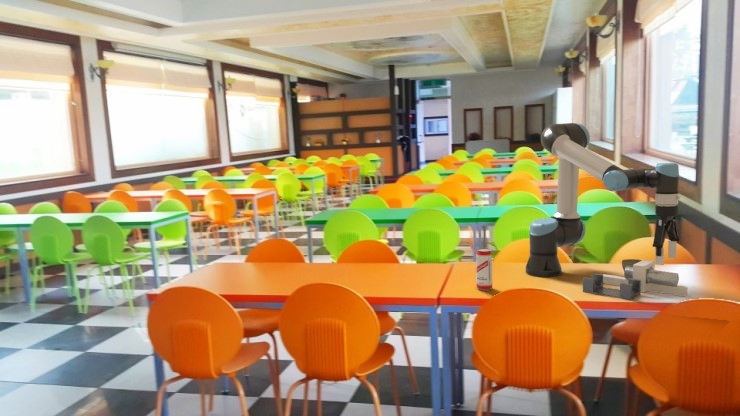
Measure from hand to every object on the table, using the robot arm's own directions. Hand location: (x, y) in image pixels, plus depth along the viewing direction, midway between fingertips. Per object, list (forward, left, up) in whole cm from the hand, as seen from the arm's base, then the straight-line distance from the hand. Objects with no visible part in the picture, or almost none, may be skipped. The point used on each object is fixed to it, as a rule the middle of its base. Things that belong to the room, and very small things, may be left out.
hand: (665, 261), depth 209 cm
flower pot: (-16, +14, -12) cm, 24 cm away
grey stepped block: (-8, 0, -12) cm, 14 cm away
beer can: (-56, -37, -12) cm, 68 cm away
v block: (-15, -13, -12) cm, 23 cm away
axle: (-5, 0, -6) cm, 8 cm away
